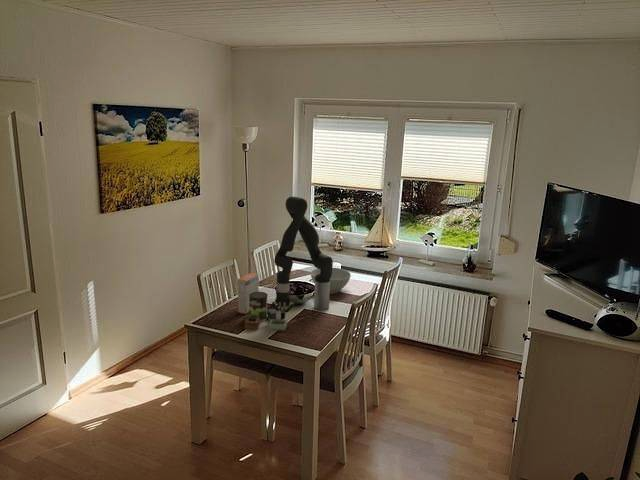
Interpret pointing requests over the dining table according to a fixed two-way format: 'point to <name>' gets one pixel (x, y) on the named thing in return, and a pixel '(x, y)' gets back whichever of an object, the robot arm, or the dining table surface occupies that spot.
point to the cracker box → (246, 291)
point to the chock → (272, 314)
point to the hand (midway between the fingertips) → (282, 318)
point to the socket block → (252, 323)
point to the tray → (278, 325)
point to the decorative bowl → (334, 278)
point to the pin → (278, 317)
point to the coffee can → (258, 305)
